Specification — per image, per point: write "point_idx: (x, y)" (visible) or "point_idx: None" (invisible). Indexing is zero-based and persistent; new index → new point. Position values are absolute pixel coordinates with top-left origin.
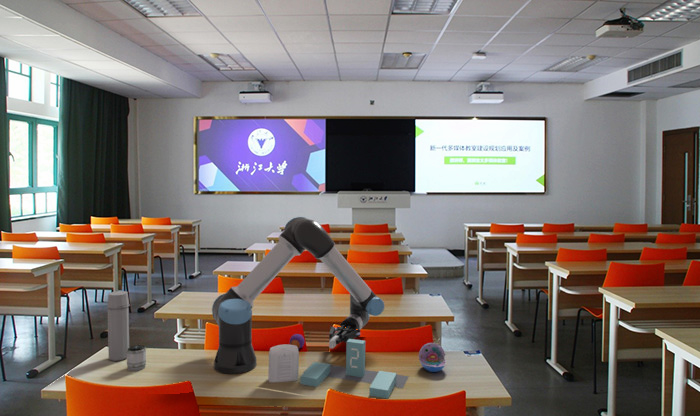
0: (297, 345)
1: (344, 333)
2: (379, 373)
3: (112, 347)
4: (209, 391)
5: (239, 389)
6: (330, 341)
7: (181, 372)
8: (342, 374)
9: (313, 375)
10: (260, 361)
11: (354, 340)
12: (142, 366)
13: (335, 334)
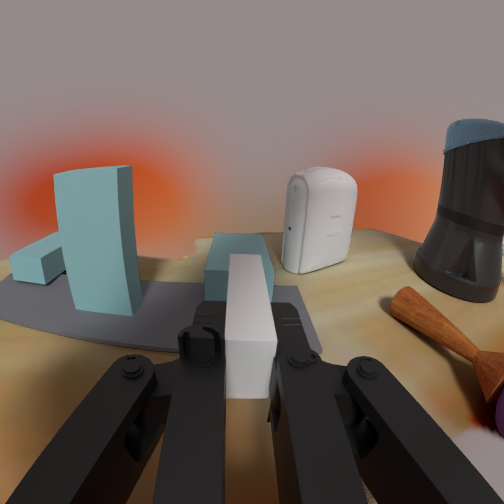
0: (488, 372)
1: (169, 459)
2: (47, 252)
3: None
4: (380, 233)
5: (353, 239)
6: (249, 256)
7: None
8: (155, 298)
9: (231, 237)
10: (455, 304)
11: (96, 169)
12: None
13: (300, 378)
